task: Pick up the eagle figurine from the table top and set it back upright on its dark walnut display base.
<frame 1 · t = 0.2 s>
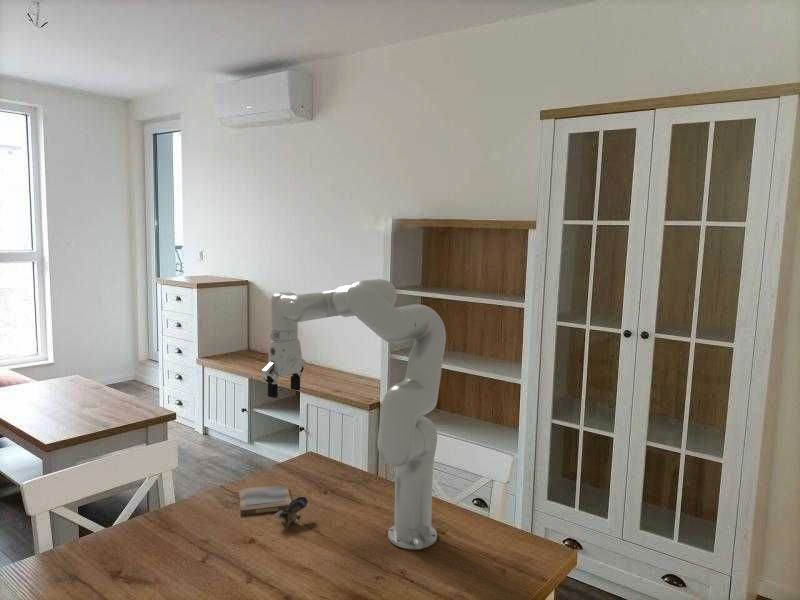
hand: (284, 393, 171), 31 cm above the table, tool pointing down, fingers open, 9 cm apart
walnut display base: (264, 501, 169), on the table
eagle figurine: (292, 524, 157), on the table
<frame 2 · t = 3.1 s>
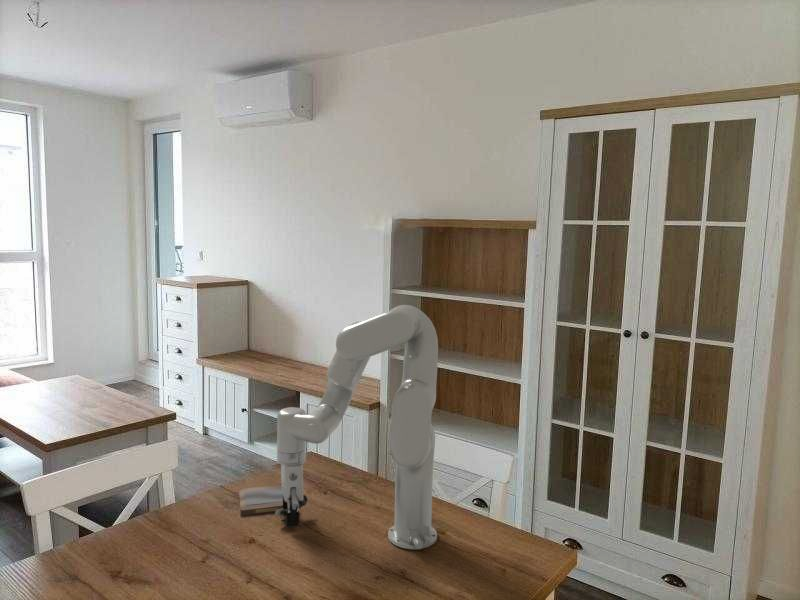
hand: (290, 517, 157), 2 cm above the table, tool pointing down, fingers open, 8 cm apart
eagle figurine: (292, 521, 158), on the table, touching gripper
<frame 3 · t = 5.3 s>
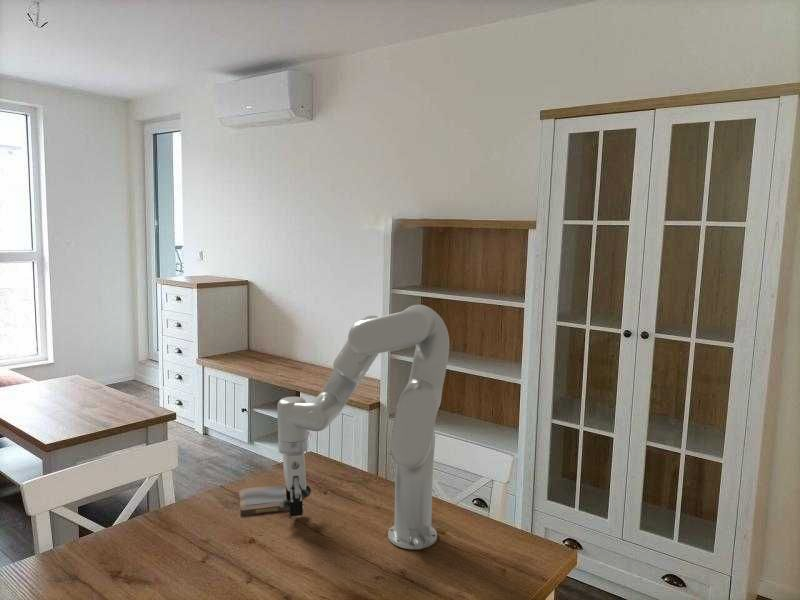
hand: (294, 507, 156), 5 cm above the table, tool pointing down, fingers closed on eagle figurine, 8 cm apart
eagle figurine: (296, 512, 158), point 2 cm above the table, touching gripper
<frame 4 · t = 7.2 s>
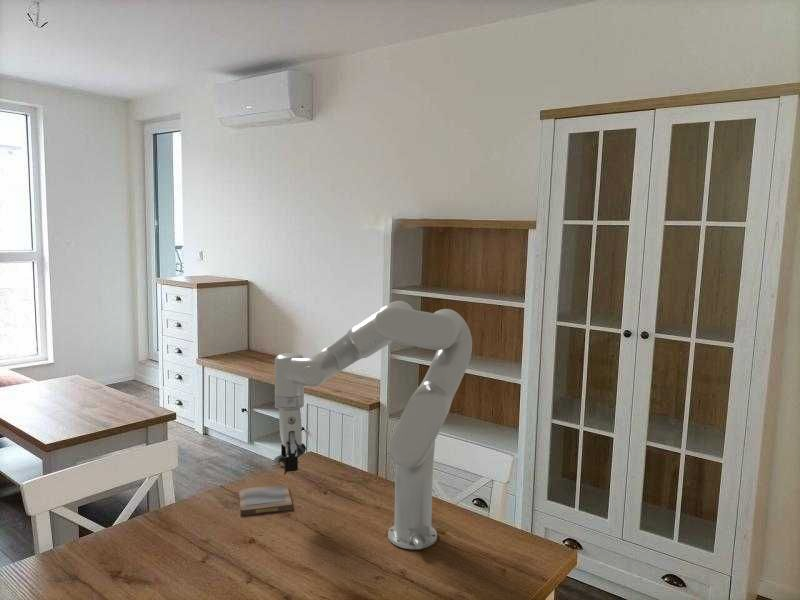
hand: (289, 464, 156), 16 cm above the table, tool pointing down, fingers closed on eagle figurine, 8 cm apart
eagle figurine: (291, 469, 158), point 14 cm above the table, touching gripper
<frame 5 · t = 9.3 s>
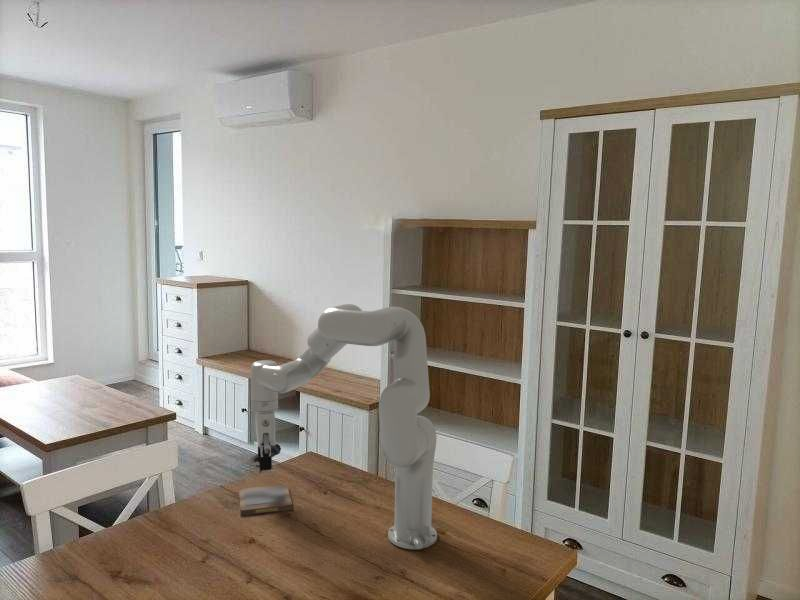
hand: (264, 463, 168), 11 cm above the table, tool pointing down, fingers closed on eagle figurine, 8 cm apart
eagle figurine: (266, 468, 170), point 9 cm above the table, touching gripper
when the fingers open (4 cm above the table, at t = 11.2 s): eagle figurine stays where it is, resting on walnut display base.
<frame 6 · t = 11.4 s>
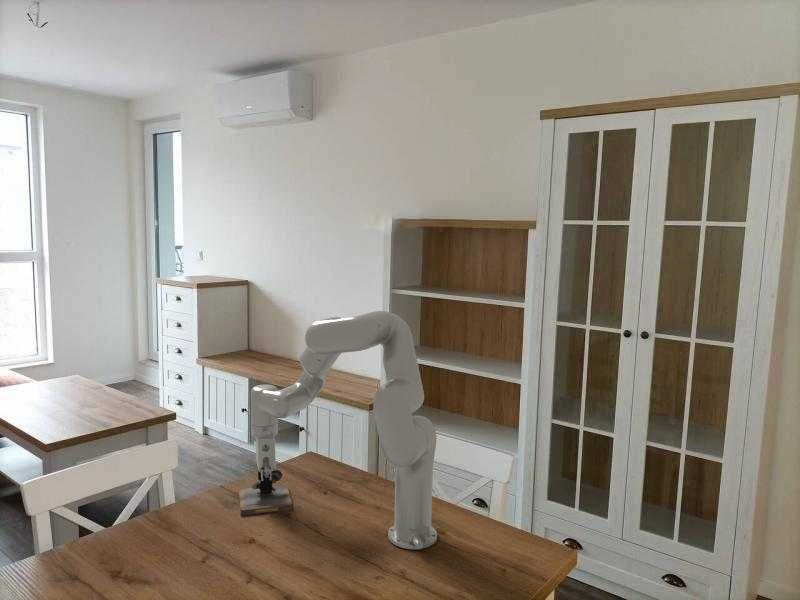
hand: (264, 486, 169), 5 cm above the table, tool pointing down, fingers open, 9 cm apart
eagle figurine: (267, 495, 170), point 1 cm above the table, touching walnut display base
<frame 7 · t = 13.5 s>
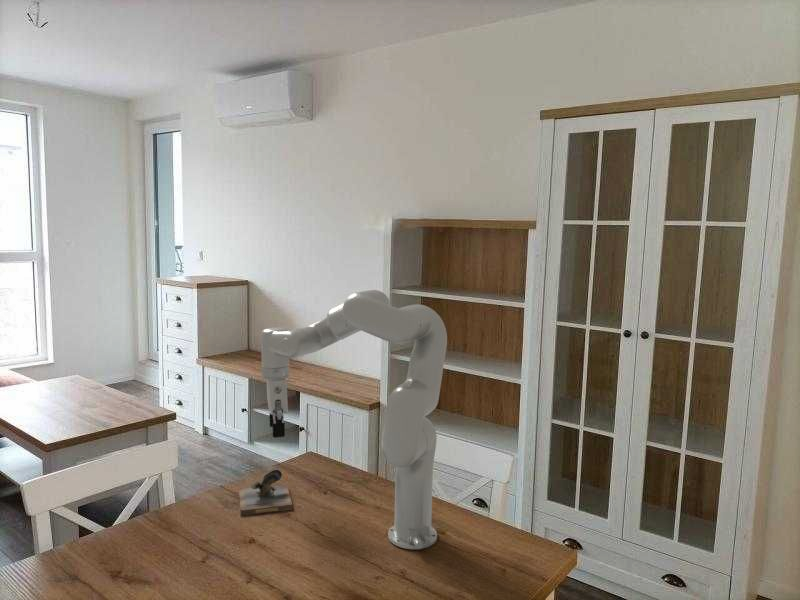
hand: (277, 431, 166), 21 cm above the table, tool pointing down, fingers open, 9 cm apart
nothing on the table moved.
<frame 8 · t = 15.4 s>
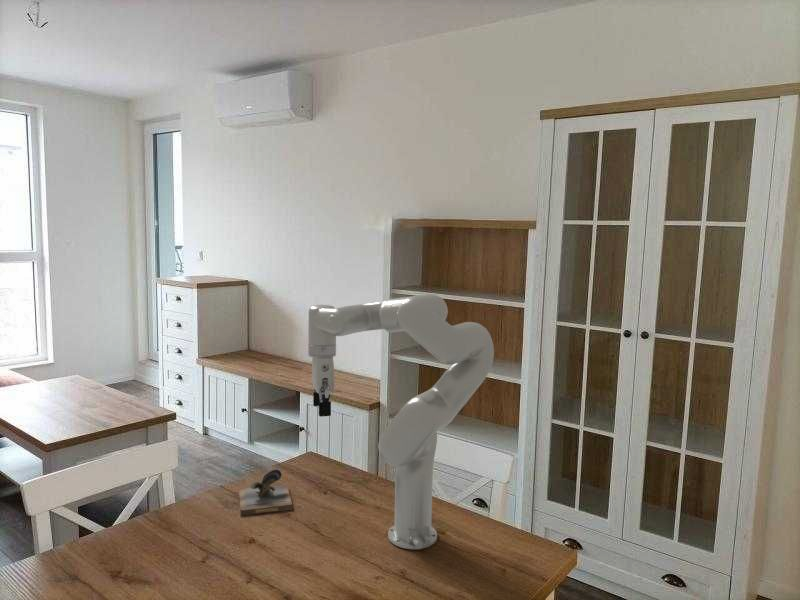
hand: (321, 410, 163), 28 cm above the table, tool pointing down, fingers open, 9 cm apart
nothing on the table moved.
at the end: eagle figurine inside the target area on the walnut display base (1.4 cm from its centre), point 1.4 cm above the walnut display base's base; eagle figurine tilted 0°; the gripper is holding nothing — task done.
